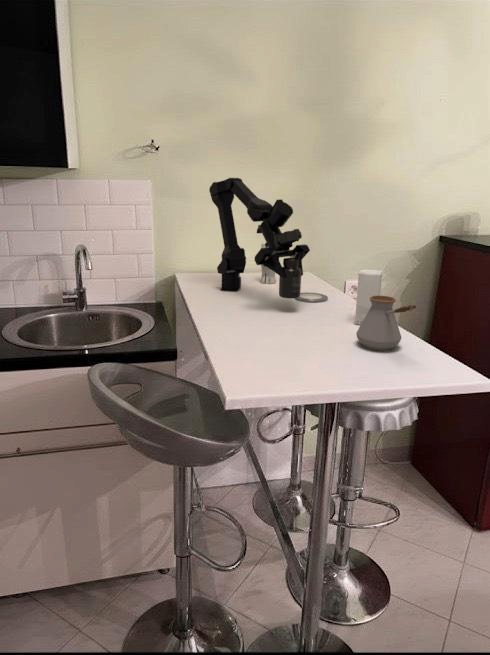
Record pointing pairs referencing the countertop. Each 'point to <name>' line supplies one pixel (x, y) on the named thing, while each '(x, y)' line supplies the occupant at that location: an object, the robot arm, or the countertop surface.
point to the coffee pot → (381, 324)
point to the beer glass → (267, 273)
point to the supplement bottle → (290, 279)
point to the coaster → (312, 297)
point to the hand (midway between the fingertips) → (293, 276)
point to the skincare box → (367, 292)
